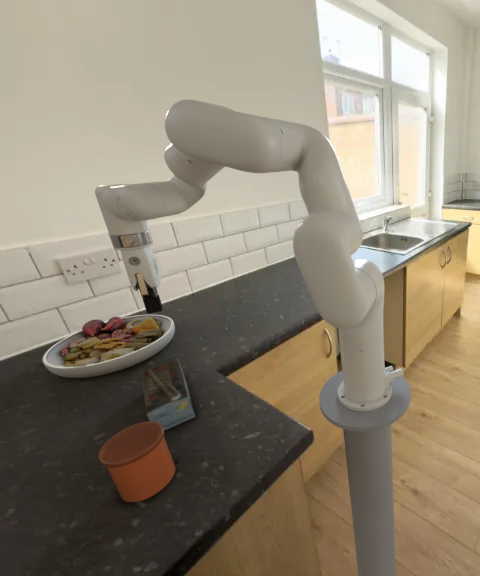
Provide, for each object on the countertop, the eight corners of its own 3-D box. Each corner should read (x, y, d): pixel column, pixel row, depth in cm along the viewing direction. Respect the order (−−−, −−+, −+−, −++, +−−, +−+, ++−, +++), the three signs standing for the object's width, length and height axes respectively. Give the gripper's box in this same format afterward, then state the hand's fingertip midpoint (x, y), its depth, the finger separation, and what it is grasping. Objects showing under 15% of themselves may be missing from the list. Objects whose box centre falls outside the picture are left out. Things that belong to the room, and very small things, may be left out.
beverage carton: (152, 437, 64) (142, 411, 62) (147, 388, 79) (139, 366, 76) (196, 418, 69) (188, 393, 66) (184, 375, 83) (177, 354, 81)
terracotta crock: (178, 451, 61) (165, 414, 58) (176, 488, 54) (160, 448, 51) (123, 471, 57) (105, 433, 54) (112, 514, 50) (91, 473, 47)
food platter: (198, 338, 101) (192, 316, 98) (83, 397, 76) (70, 370, 73) (144, 320, 114) (137, 300, 111) (30, 367, 89) (17, 343, 86)
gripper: (148, 244, 69) (170, 319, 76) (155, 232, 81) (174, 298, 88) (104, 249, 66) (132, 327, 73) (118, 236, 78) (141, 303, 85)
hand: (155, 311), depth 80 cm, fingers closed
